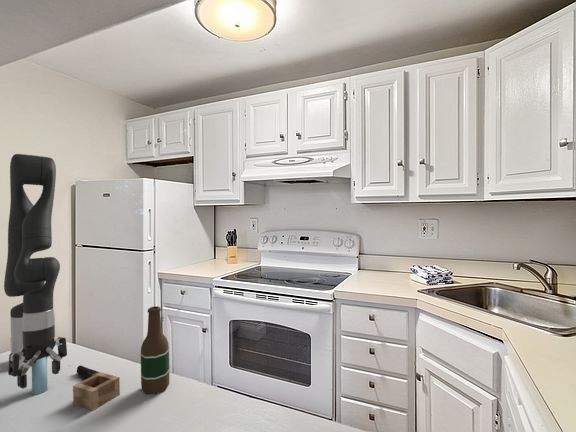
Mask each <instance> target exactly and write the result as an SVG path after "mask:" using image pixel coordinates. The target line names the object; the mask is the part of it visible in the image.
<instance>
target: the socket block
mask: <svg viewBox="0 0 576 432" xmlns="http://www.w3.org/2000/svg"><path fill="white" fill-rule="evenodd" d="M99 372H100V373H98V374H96V375H94V376H92V377H90V378H88V379H86V380H84V379H83V380H82V381H80V382H78V383H76V384H74V385H72V395H73V397H72V400H73V405H76V406H79V407H82V408H84V409H86V410H87V409H88V410H90V411H94V410H97V409H99V408H100V407H102V406H104V405H105V404H107V403H108V402H110V401H112V400H113V399H115V398H117V397H118V396H120V395H121V394H120V393H121V392H120V391H121V388H120V386H121V383H120V376H116V375H113V374H108V373H104V372H101V371H99Z"/></svg>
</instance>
